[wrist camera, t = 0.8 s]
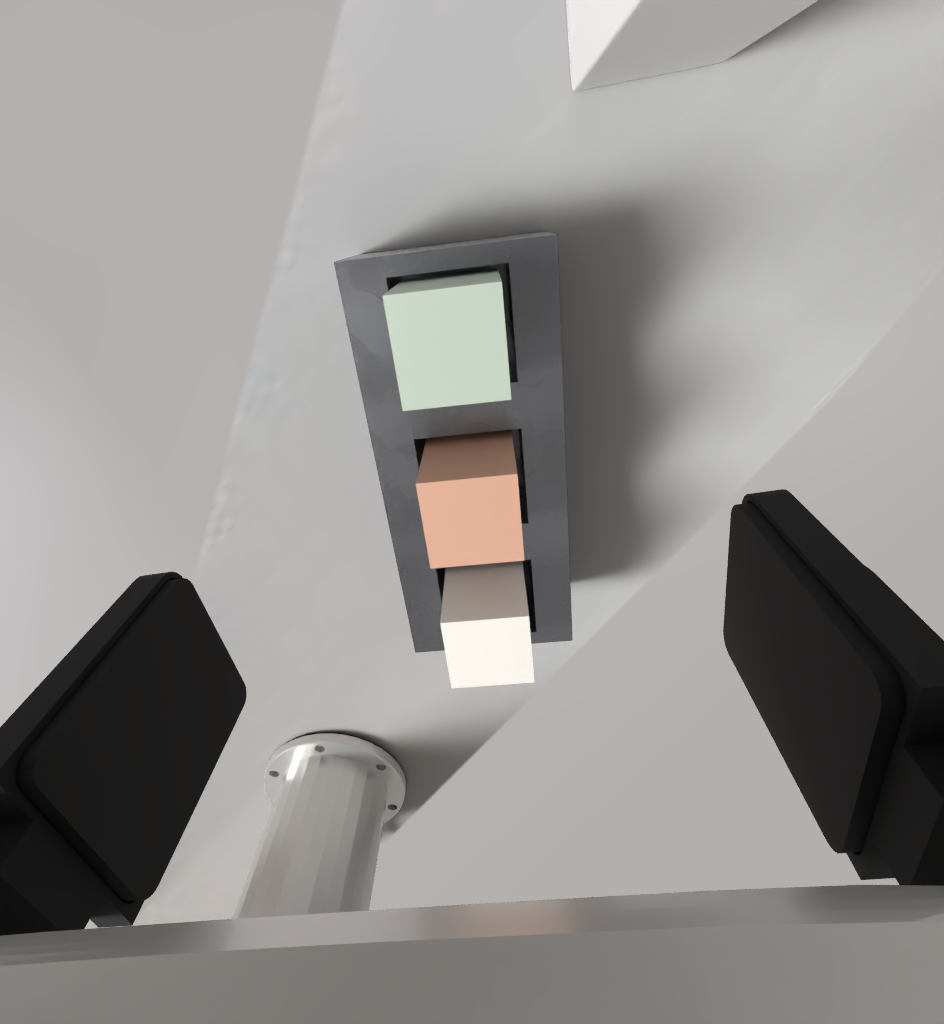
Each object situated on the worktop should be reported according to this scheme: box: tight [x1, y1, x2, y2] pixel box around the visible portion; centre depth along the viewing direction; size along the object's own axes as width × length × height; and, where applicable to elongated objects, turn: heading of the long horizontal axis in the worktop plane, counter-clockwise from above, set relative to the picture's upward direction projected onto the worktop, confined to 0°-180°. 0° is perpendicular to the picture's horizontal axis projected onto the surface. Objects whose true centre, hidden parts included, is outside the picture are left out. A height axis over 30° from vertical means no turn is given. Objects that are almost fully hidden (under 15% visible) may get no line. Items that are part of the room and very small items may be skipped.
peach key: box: [416, 429, 525, 569], centre depth 29 cm, size 5×5×6 cm
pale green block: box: [382, 269, 511, 411], centre depth 25 cm, size 5×5×6 cm
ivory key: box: [440, 561, 534, 688], centre depth 32 cm, size 5×5×6 cm
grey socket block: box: [334, 231, 572, 652], centre depth 33 cm, size 23×10×6 cm, turn 6°
